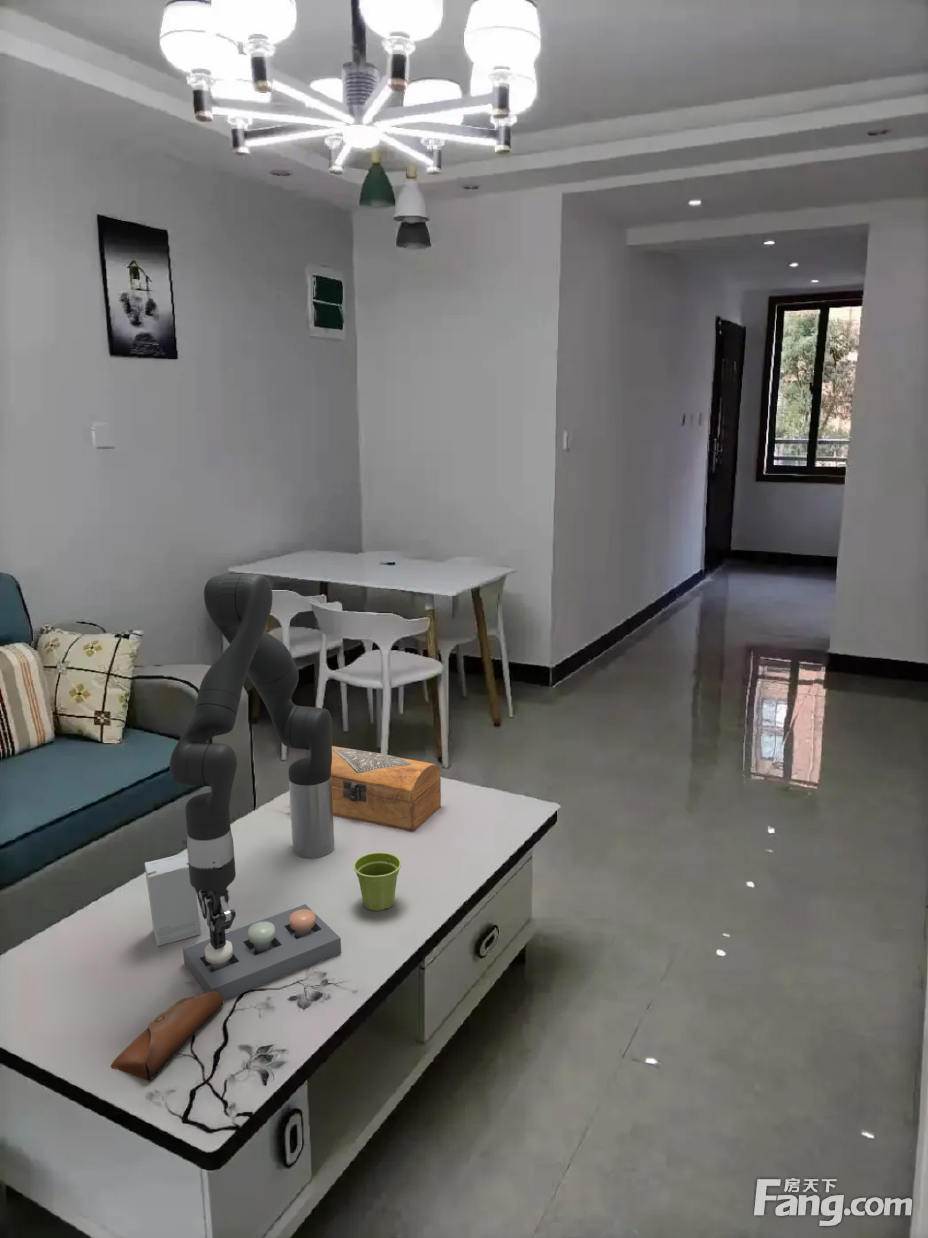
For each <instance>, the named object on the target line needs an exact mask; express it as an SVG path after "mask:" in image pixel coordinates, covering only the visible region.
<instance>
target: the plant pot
mask: <svg viewBox="0 0 928 1238" xmlns="http://www.w3.org/2000/svg"><path fill="white" fill-rule="evenodd" d="M352 867H353V870H354V872H355V873H356V876H357V878H358V883H359V887H360V888H359V889H360V894H361V898H362V902H363V906H365V907H366V909H367V910H370V911H378V912H379V911H382V910H385V909H389V908H391V907H392V906H394V902H395V897H396V890H397V889H396V888H397V879H398V875H399V871H400V869H401V867H402V861H401V859H400V858H399V857H398V856H397V855H395V854H392V853H390V852H384V851H383V852H378V851H376V852H371V853H370V852H369V853H367V854H364V855H361V856H360V857H358V858H357V859H356V860H355V861H354V863H353V866H352Z"/></svg>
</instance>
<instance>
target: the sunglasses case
mask: <svg viewBox="0 0 928 1238" xmlns="http://www.w3.org/2000/svg"><path fill="white" fill-rule="evenodd" d="M223 1006H224V1001H223V998H222V996H221V995H220V994H219V993H218V992H216V991H210V992H207V993H205V992H204V993H202V994H199V995H197V996H192V997H187V998H182V999H180V1000H178V1001H177V1002H175V1003H174V1004H172V1006H171V1005H170V1007H169V1008H168V1009H167V1010H165V1012H163V1013H161V1014H159V1015H158V1016H157V1017H156V1018H154V1019H153V1020H152V1021H151V1022H150V1023H149V1024H148V1025H147V1028H146V1029H144V1031H142V1033H140V1034H139V1035H138V1036H137V1037H136V1038H135V1039H134V1040H133V1041H132V1042H131V1043H129V1045H128V1046H127V1047H126V1048H125V1049H124V1050H123V1051H122V1052H121V1053H119V1054H118V1055H117V1057H115V1059H114V1060H113V1061H112V1062H111V1063H110V1068H111V1069H113V1070H118V1071H120V1072H123V1073H126V1074H129V1075H131V1076H134V1077H136V1078H139V1079H142V1080H145V1081H147V1082H148V1083H149V1082H150V1081H151V1080H153V1079H154V1078H155V1077H156V1076H157V1075H158V1074H159V1073H160V1072H161V1071H162V1070H163V1069H164V1067H165V1066H166V1065H167V1064H168V1063H169V1062H170V1060H171V1059H172V1058H173V1057H174V1056H175V1055H176V1054H177V1053H178V1051H179V1050H180V1049H181V1048H183V1046H184V1045H185V1044H186V1043H187V1042H188V1041H189V1040H190V1039H192V1037H194V1035H195V1034H196V1033H197V1032H198V1031H199V1030H200V1029H201V1028H203V1026H204V1025H205V1024H207V1022H208V1021H209V1020H210V1019H211V1018H212V1017H213V1016H214V1015H215V1014H216V1013H217V1012H219V1010H221V1008H223Z"/></svg>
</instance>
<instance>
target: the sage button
mask: <svg viewBox="0 0 928 1238" xmlns="http://www.w3.org/2000/svg"><path fill="white" fill-rule="evenodd" d="M257 922H258V921H257ZM254 923H255V922H254ZM248 934H249V941H250V942H251V943H253V944H254V953H255V954H256V955H258V954H260V953H263V952H265V951H268V950H270V949H271V941H272V940H273V939H274V938H275V926H274V925H273V924H272V923H270V922H258V923H255V924H253V925H252V926H250V928H249V929H248Z"/></svg>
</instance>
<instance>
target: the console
mask: <svg viewBox="0 0 928 1238" xmlns="http://www.w3.org/2000/svg"><path fill="white" fill-rule="evenodd" d="M302 909H307V910H311V911H313V910H312V909H311V908H310V907H309V906H308V905H307V904H306V903H304V904H301V905H299V906H295V907H294V908H291V909H288V910H285V911H282V912H280V913H276V914H274V915H272V916H269V917H266V918H264V919H261V920H258V921H255V922H253V923H249V924H247V925H244V926H241V927H239V928H236V929H232V930H231V931H228V932H225V937H226V940H227V941H230V942H231V943H232V949H233V955H232V957H231V958H230V959H229V966H227V967H224V968H222V969H219V970H216V971H214V972H211V963H209V962H207V961H206V959H205V947H206V946H207V945H208V944H209V943H211V942H210V938H207V939H206V940H203V941H200V942H197V943H195V944H192V945H189V946H186V947H183V948H182V951H183V952H182V954H183V964H184V966H185V967H186V968H187V970H188V971H189V972H190V975H192V977H193V978H194V979H195V981H196V983H197V984H198V985H199V987H200V988H201V989H202V991H203V992H204V993H207V992H210V991H216V992H218V993H219V994H220V995H221V996H222V998H223V1002H224V1001H226V1000H229V999H232V998H234V997H236V996H239V995H241V994H244V993H246V992H248V991H251V990H254V989H256V988H259V987H260V986H263V985H265V984H268V983H270V982H272V981H275V980H277V979H280V978H283V977H285V976H288V975H290V974H292V973H294V972H297V971H299V970H302V969H305V968H307V967H309V966H311V965H314V964H316V963H319V962H322V961H323V960H326V959H328V958H331V957H334V956H336V955H339V954H341V953H342V944H341V943H342V942H341V939H342V938H341V937H340V936H339V935H338V933H336V932H335V931H334V930H333V929H332V928H331V927H330V926H329V925H328V924H327V923H326V922H325V921H324V920H323V919H322V918H320V917H319V916H318V915H317V914H316V913H315V925H314V927H313V928H311V933H312V934H309V935H306V936H304V937H301V938H299V939H296V938H295V930H293V929H292V928H291V927H290V915H291V914H292V913H293V912H295V911H297V910H302ZM258 922H270V923H272V924H273V925H274V926H275V938H274V939H273V940H272V941H271V949H270V950H268V951H265V952H263V953H260V954H258V955H256V954H255V953H254V944H253V943H251V942H250V941H249V934H248V929H249V928H250V926H252V925H253V924H255V923H258Z"/></svg>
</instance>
